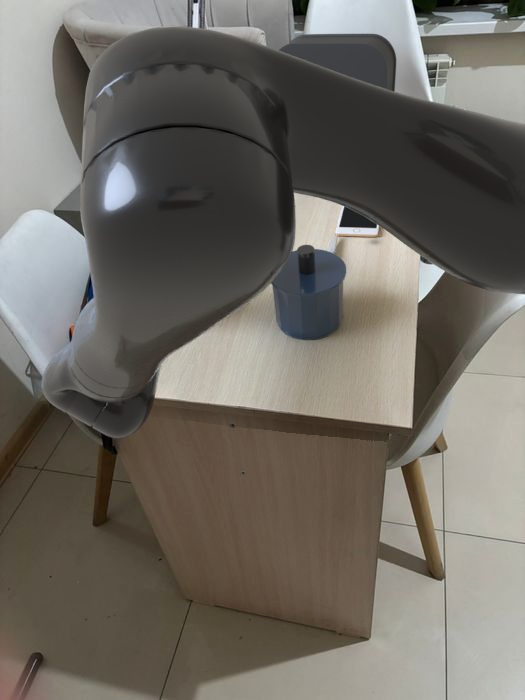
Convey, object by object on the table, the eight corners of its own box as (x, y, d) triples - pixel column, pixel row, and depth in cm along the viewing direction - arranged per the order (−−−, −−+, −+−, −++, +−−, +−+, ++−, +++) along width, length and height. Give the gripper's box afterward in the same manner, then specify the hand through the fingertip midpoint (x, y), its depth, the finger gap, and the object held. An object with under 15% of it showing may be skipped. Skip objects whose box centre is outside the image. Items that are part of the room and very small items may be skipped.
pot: (340, 295, 83) (339, 251, 77) (345, 338, 75) (345, 292, 70) (277, 299, 84) (272, 255, 78) (276, 341, 76) (271, 296, 71)
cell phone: (335, 235, 96) (335, 232, 95) (345, 194, 107) (345, 192, 106) (377, 237, 94) (377, 234, 93) (383, 195, 105) (383, 192, 105)
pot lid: (342, 252, 78) (343, 225, 75) (349, 297, 70) (350, 269, 66) (269, 257, 79) (266, 231, 76) (267, 302, 71) (264, 275, 68)
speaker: (278, 161, 123) (269, 43, 106) (292, 146, 128) (285, 32, 111) (381, 170, 114) (389, 43, 96) (391, 154, 119) (400, 31, 102)
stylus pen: (326, 286, 85) (326, 276, 84) (311, 284, 86) (311, 275, 85) (344, 238, 95) (344, 229, 94) (330, 237, 96) (330, 228, 95)
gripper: (221, 267, 56) (264, 196, 68) (108, 257, 60) (167, 191, 72) (230, 320, 61) (270, 245, 73) (125, 307, 65) (178, 238, 77)
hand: (218, 218), depth 72 cm, fingers closed on pill bottle, 5 cm apart
